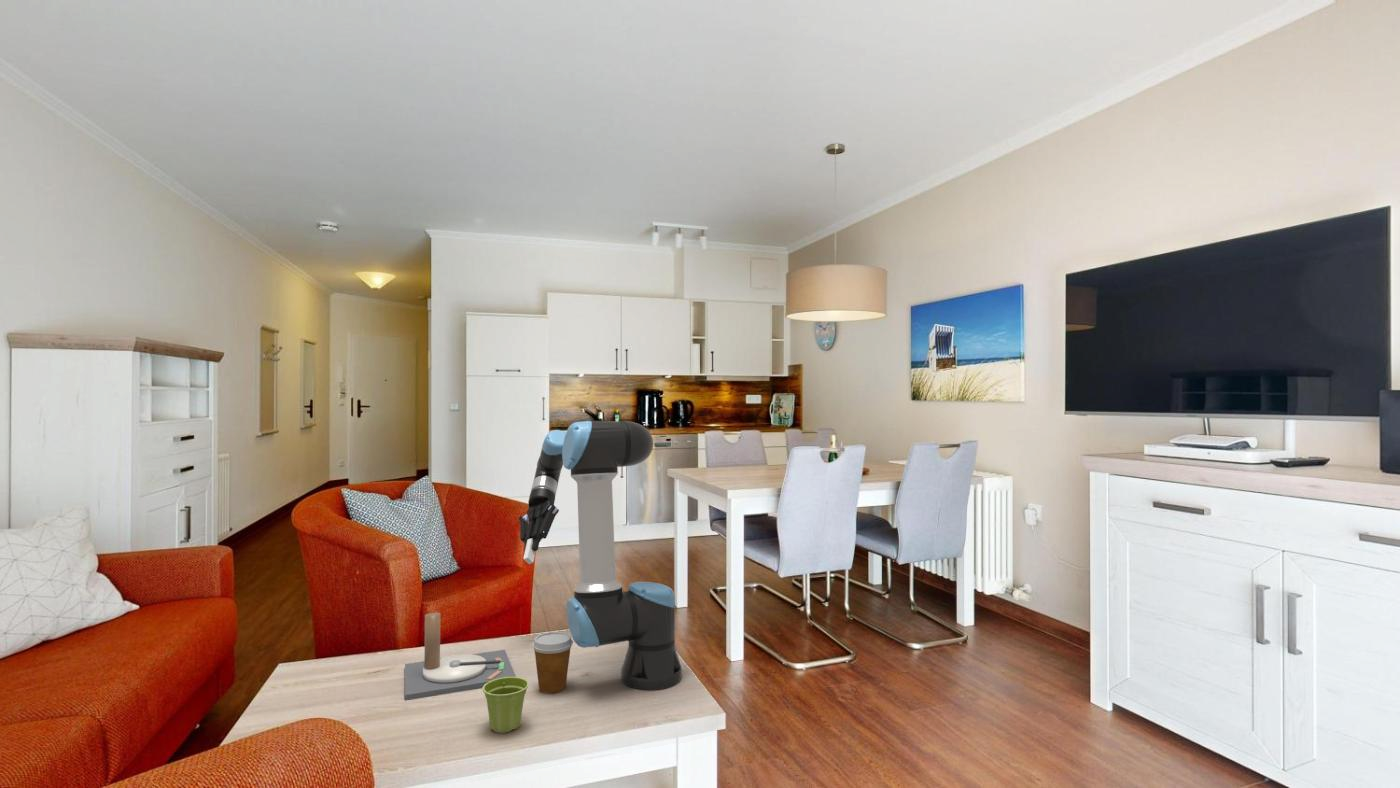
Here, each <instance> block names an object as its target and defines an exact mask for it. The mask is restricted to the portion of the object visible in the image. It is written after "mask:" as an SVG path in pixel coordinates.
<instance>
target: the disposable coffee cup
mask: <svg viewBox="0 0 1400 788" xmlns="http://www.w3.org/2000/svg"><path fill="white" fill-rule="evenodd" d="M573 642H574V640H573V639H572V635H571V634H568V633H567V632H564V631H563V632H562V631H552V632H544V633H541V634H539V635H537V636H536V637H534V641H533V643H532V648H533V650H534V656H535V666H536V674H537V681H538V683H537V684H538V690H539V692H541V693H544V694H558V693H560V692H562V691H564V690H565V689H566V685H567V679H568V670H569V665H570V656H571V655H570V654H571V649H572V645H573Z"/></svg>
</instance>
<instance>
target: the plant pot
mask: <svg viewBox="0 0 1400 788" xmlns="http://www.w3.org/2000/svg"><path fill="white" fill-rule="evenodd" d="M529 683H530V682H529V681H528V680H527V679H526V678H523V677H518V676H516V677H503V678H498V679H494V680H492V681H489V682H488V683H486V684H485V685H484V686H483V688H482V691H483V693H484V696H485V698H486V705H487V712H488V718H489V719H488V720H489V728H490V730H493V732H494V733H498V734H499V733H505V734H506V733H509V732H511V731H512V730H516V729H518V728H519V727H520V725H521V721H522V714H523V708H524V702H525V695H526V693H527V689H528V688H529V685H530V684H529Z"/></svg>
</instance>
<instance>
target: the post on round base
mask: <svg viewBox="0 0 1400 788" xmlns="http://www.w3.org/2000/svg"><path fill="white" fill-rule="evenodd" d="M472 654H473V653H472ZM472 654H470V653H469V654H468V653H467V654H466V653H464V654H463V653H461V654H460V653H459V654H451V655H446V656H442V657H441V612H437V611H435V612H428V613H426V614H424V659H423V660H424V668H423V677H424V678H425V679H426V680H428V681H432V682H438V683H450V682H458V681H463V680H467V679H470V678H473V677H476V676H478V675H479V674H481V673H482V672H484V671H485V669H486V664H498V663H500V662H501V660H493V661H486V660H485V658H483V657H481V656H478V655H472Z"/></svg>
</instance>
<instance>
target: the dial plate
mask: <svg viewBox="0 0 1400 788" xmlns="http://www.w3.org/2000/svg"><path fill="white" fill-rule="evenodd" d="M472 655H478V656H481V657H483V658H485V660H486V661H493V660H501V662H500V663H498V664H486V669H485V671H484V672H482V673H481V674H479V675H478V676H476V677H473V678H470V679H467V680H463V681H458V682H450V683H438V682H432V681H428V680H426V679H425V678H424V677H423V668H424V661H417V662H409V663H404V701H410V700H415V699H421V698H427V697H434V696H439V695H446V694H451V693H452V694H453V693H458V692H464V691H472V690H475V689H476V690H477V689H481V688H482V687H483V686H484V685H485V684H486V683H488V682H489V681H492V680H494V679H498V678H503V677H517V675H516V674H515V671H514V668H513V666H512V663H511V660H510V658H509V656H508V654H507V651H506V649H499V650H493V651H487V652H480V653H479V652H478V653H472ZM482 689H483V688H482Z"/></svg>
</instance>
